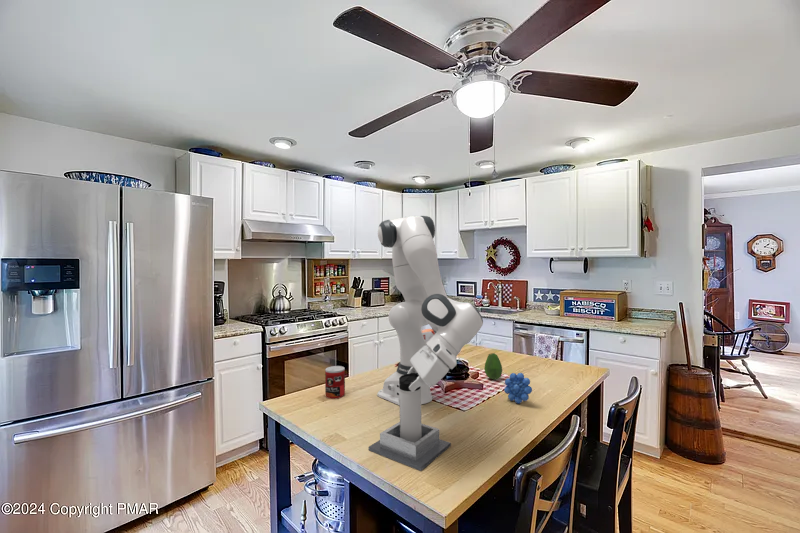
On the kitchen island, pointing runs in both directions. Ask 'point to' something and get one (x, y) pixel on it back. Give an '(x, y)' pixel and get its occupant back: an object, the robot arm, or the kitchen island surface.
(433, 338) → the robot arm
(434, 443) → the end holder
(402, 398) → the travel mug
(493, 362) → the avocado
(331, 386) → the canned food
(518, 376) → the grapes
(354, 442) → the kitchen island surface
